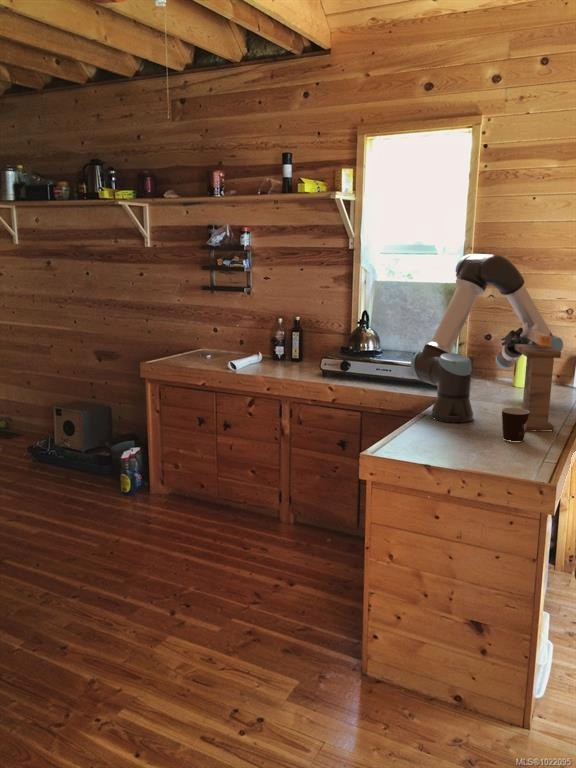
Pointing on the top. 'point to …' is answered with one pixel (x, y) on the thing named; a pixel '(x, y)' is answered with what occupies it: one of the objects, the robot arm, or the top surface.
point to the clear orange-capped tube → (538, 337)
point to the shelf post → (538, 383)
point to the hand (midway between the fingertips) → (531, 326)
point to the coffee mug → (514, 423)
